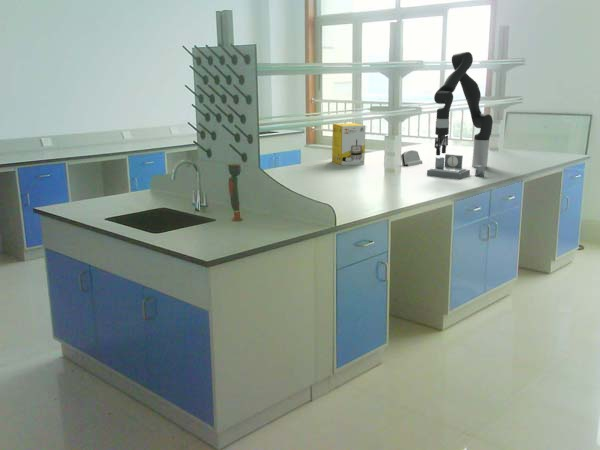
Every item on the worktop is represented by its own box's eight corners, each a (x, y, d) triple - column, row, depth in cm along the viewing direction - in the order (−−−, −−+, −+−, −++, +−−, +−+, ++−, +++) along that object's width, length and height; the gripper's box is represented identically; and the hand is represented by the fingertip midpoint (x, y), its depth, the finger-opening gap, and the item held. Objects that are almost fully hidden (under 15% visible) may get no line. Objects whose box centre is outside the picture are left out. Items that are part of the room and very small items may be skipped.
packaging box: (354, 160, 407) (355, 123, 401) (364, 164, 392) (365, 125, 386) (332, 161, 402) (332, 123, 396) (341, 165, 387) (342, 126, 381)
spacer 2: (476, 174, 356) (477, 164, 354) (485, 175, 353) (485, 165, 351) (473, 176, 352) (474, 166, 350) (482, 177, 349) (483, 166, 347)
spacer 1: (437, 166, 358) (437, 156, 357) (445, 167, 356) (445, 157, 354) (433, 168, 354) (434, 157, 353) (441, 168, 352) (442, 158, 350)
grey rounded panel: (408, 166, 384) (404, 151, 384) (402, 167, 388) (398, 152, 388) (423, 163, 396) (419, 148, 396) (417, 164, 399) (413, 150, 399)
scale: (437, 171, 367) (438, 153, 364) (469, 174, 356) (471, 156, 353) (426, 175, 354) (428, 156, 351) (459, 178, 343) (461, 159, 340)
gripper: (440, 124, 356) (439, 152, 360) (431, 127, 345) (430, 155, 349) (453, 125, 352) (451, 153, 356) (443, 128, 341) (442, 156, 345)
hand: (440, 154), depth 353 cm, fingers open, 8 cm apart
